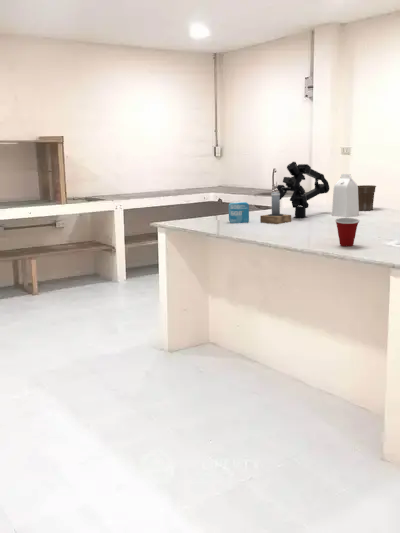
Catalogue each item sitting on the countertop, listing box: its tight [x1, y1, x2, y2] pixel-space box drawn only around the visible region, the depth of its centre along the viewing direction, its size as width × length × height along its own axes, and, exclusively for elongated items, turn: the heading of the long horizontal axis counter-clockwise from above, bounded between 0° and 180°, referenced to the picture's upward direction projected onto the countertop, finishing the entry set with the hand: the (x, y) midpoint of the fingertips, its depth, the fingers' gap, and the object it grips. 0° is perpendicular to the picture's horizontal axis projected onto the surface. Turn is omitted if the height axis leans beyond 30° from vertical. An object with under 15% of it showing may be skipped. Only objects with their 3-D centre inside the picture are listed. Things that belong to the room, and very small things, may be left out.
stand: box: [259, 213, 292, 225], centre depth 343 cm, size 13×13×4 cm
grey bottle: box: [271, 192, 281, 215], centre depth 341 cm, size 5×5×13 cm
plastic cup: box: [334, 217, 360, 247], centre depth 258 cm, size 11×11×12 cm
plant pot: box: [357, 184, 377, 212], centre depth 382 cm, size 16×16×16 cm
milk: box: [331, 173, 360, 218], centre depth 357 cm, size 12×12×26 cm
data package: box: [228, 201, 250, 224], centre depth 346 cm, size 12×4×12 cm, turn 92°
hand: (284, 200), depth 346 cm, fingers open, 9 cm apart
